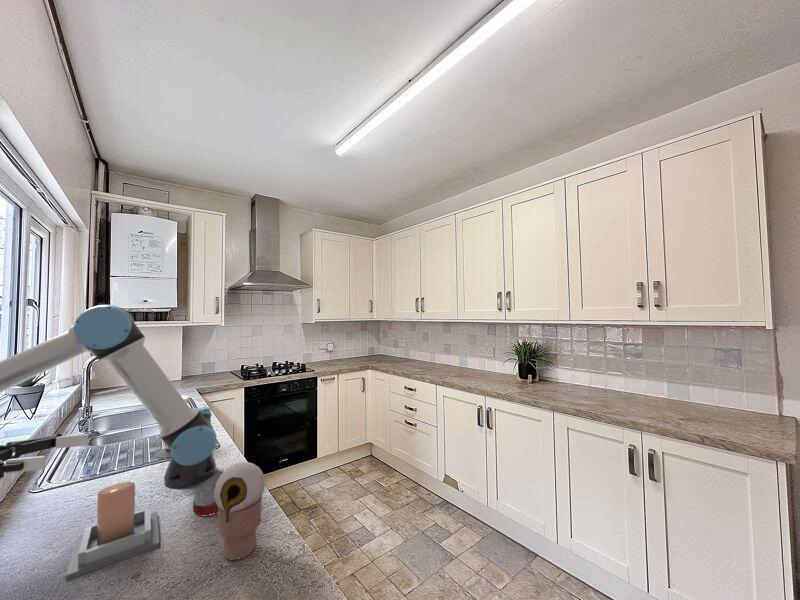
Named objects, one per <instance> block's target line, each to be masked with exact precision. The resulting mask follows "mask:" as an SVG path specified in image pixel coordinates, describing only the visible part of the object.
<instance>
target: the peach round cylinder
mask: <svg viewBox="0 0 800 600" xmlns="http://www.w3.org/2000/svg"><path fill="white" fill-rule="evenodd" d="M135 488H136V483H135V482H134V481H123V482H119V483H115V484H112V485H109V486H106V487H104V488H103V489H101V490H99V491H98V493H97V506H96V507H97V509H96V510H97V512H96V518H97V519H96V523H97V546H100V545H103V544H106V543H109V542H112V541H115V540H118V539H121V538H124V537H127V536H130V535H133V534H134V523H135V512H136V511H135V505H136V504H135V502H136V489H135Z"/></svg>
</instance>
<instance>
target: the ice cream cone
mask: <svg viewBox="0 0 800 600" xmlns="http://www.w3.org/2000/svg"><path fill="white" fill-rule="evenodd" d="M222 472H223V473H222V474H221V476H220V477H219V479H218V481H217V483H216V486H215V489H214V498H215V502H216V504H217V506H218V513H217V515H218V533H219V535H220V536H221V537H223V556H224V558H225V557H226V558H227V559H230V560H229V561H231V560H234V561H236V560H235V559H239V558H242V557H244V556H247V555H248V554H249V553H251V552H252V551H253V550H254V548H255V549H256V547H257V532H256V531H257V528H258V527H259V526H260V524H261V520H262V500H263V497H262V496H263V493H264V491H265V487H266V486H265V485H266V480H265V479H266V478H265V475H264V473H263V472H264V471H262V469H261V468H260V467H259V466H258V465H256V464H255V463H254V462H253V463H252V462H249V461H248V462H247V461H243V462H241V461H240V462H236V463H235V464H232V465H231V466H229V467H227V468H226V469H225V470H223V471H222ZM255 546H256V547H255ZM254 551H255V550H254ZM254 551H253V552H254ZM253 552H252V553H253ZM252 553H251V554H252ZM248 556H249V555H248ZM248 556H247V557H248ZM226 558H225V559H226ZM227 559H226V560H227ZM242 559H243V558H242Z"/></svg>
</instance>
